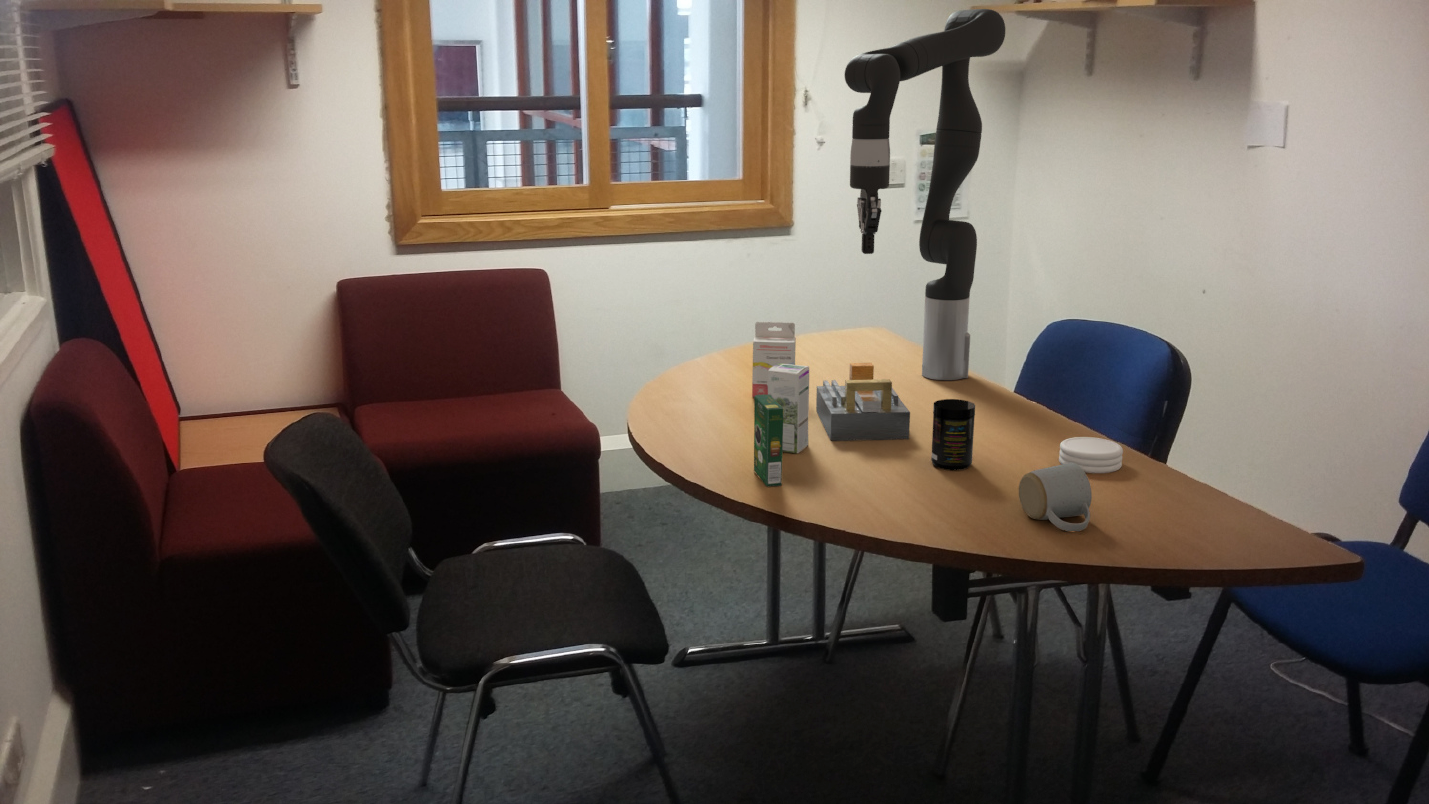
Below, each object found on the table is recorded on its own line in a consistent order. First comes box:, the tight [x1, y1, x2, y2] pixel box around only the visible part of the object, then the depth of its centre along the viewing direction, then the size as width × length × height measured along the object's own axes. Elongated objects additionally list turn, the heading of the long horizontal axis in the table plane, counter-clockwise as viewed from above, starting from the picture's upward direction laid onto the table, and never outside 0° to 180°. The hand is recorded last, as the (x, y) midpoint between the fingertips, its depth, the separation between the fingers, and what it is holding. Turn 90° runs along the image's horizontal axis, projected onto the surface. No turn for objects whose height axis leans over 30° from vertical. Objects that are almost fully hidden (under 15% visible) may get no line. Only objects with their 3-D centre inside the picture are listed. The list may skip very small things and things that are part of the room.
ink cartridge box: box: [751, 321, 797, 398], centre depth 234 cm, size 9×5×15 cm, turn 84°
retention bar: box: [848, 362, 880, 412], centre depth 209 cm, size 4×12×6 cm, turn 3°
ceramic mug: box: [1018, 463, 1093, 532], centre depth 168 cm, size 11×8×8 cm
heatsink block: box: [815, 378, 911, 442], centre depth 214 cm, size 14×19×10 cm
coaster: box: [1058, 436, 1124, 474], centre depth 193 cm, size 10×10×4 cm
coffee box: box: [753, 395, 784, 488], centre depth 185 cm, size 8×3×13 cm, turn 13°
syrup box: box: [768, 363, 810, 454], centre depth 200 cm, size 6×6×14 cm
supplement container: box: [930, 398, 976, 471], centre depth 191 cm, size 7×7×10 cm
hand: (867, 253), depth 227 cm, fingers closed
